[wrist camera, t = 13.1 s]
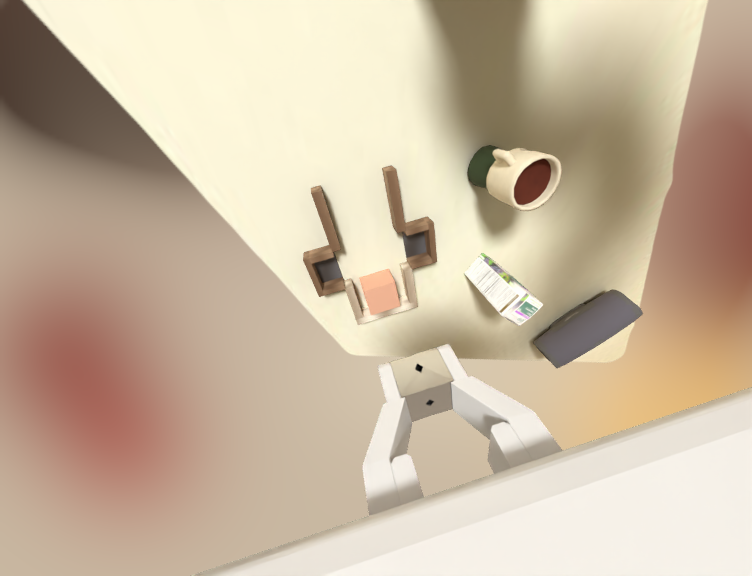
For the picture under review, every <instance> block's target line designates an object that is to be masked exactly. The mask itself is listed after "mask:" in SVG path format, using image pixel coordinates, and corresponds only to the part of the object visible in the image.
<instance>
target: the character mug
mask: <svg viewBox="0 0 752 576" xmlns="http://www.w3.org/2000/svg"><path fill="white" fill-rule="evenodd" d="M561 174H562V167H561V163H560V161H559V160H558V158H556V157H554V156H553V155H550V154H545V153H542V152H538V151H528V150H526V149H523V148H515V149H513V150H510V151H505V150H503V149H500V148H498V147H495V146H491V145H489V146H485V147H482V148H481V149H480V150H479V151H478V152H477V153H476V154H475V155H474V157H473V158H472V160H471V162H470V164H469V168H468V176H469V180H470V181H471V182H472V183H473V184H474V185H476V186H480V187H484V188H487V189H488V192H489V194H490V195H492V196H493V197H495V198H496V199H498V200H500V201H502V202H504V203H506V204H508V205H510V206H512V207H514V208H516V209H518V210H520V211H531V210H534V209H536V208H539V207H540V206H542V205H544V203H546V202H547V201H548V200H549V199H550V197H551V196H552V195H553V194H554V192H555V191H556V189H557V187H558V185H559V182H560V179H561Z"/></svg>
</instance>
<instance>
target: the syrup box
mask: <svg viewBox="0 0 752 576" xmlns="http://www.w3.org/2000/svg"><path fill="white" fill-rule="evenodd" d="M464 274H465V275H466V276H467V277H468V278H469V280H470V281H471V282H472V283H473V284H474V285H475V286H476V288H477V289H478V290H479V291H480V292H481V293H482V294H483V295H484V297H485V298H486V299H487V300H488V301H489V302H490V303H491V305H492V306H493V307H494V308H495V309H496V310H497V311H498V312H499V313H500V314H501V316H503V317H505V318H506V319H508V320H509V321H511V322H513V323H515V324H517V325H518V326H520V325H521V324H523V323H524V322H526V321H527V320H528V319H529V318H531V317H532V316H533V315H534V314H535V313H536V312H537V311H538V310H539V309H540V308H541V307H542V306H543V303H542V302H540V301H539V300H538V299H537V298H536V297H535V296H534V295H532V294H531V293H530V292H529V291H528V290H527V289H526V288H525V287H524V286H523V285H521V284H520V283H519V282H518V281H517V280H516V279H515V278H514V277H513V276H511V275H510V274H509V273H508V272H507V271H506V270H504V269H503V268H502V267H501V266H500V265H499V264H497V263H496V262H495V261H494V260H492V259H491V258H489V257H488V256H486V255H485V254H483V253H481V254H480V256H479V257H478V258H477V259H476V260H475V261H474V262H473V264H472V265H471V266H470V267H469V268H468V269H467V271H466V272H465V273H464Z"/></svg>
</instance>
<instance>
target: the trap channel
mask: <svg viewBox="0 0 752 576" xmlns="http://www.w3.org/2000/svg"><path fill="white" fill-rule="evenodd" d="M382 170H383V175H384V181H385V186H386V192H387V197H388V202H389V208H390V213H391V219H392V224H393V227H394V229H395V230H396V232H397V233H400V232H402V233H403V239H404V245H405V252H406V258H407V262H405V263H401V264H400V267H401V272H402V278H403V283H404V289H405V294H406V295H404V296H401V297H398V298H399V302H400V306H399V307H396V308H393V309H390V310H387V311H384V312H381V313H377V314H374V315H371V314H370V311H369V307H364V308H361V307H360V304H359V301H358V298H357V295H356V292H355V289H354V286H353V283H352V280H351V279H347V280H343V277H342V274H341V272H340V269H339V266H338V263H337V260H336V257H335V255H334V251H338V250H341V248H340V244H339V240H338V237H337V234H336V231H335V228H334V225H333V222H332V219H331V216H330V213H329V210H328V207H327V204H326V201H325V198H324V194H323V191H322V188H321V185H320V186H316V187H313V188H311V194H312V197H313V200H314V202H315V205H316V208H317V211H318V214H319V216H320V219H321V222H322V225H323V228H324V231H325V233H326V236H327V239H328V242H329V245H328V246H324V247H321V248H318V249H314V250H311V251H307V252H304V257H303V261H304V263H305V265H306V268H307V270H308V272H309V275H310V277H311V279H312V281H313V284H314V286H315V288H316V291H317V293H318V295H319V297H321V296H324V295H328V294H331V293H334V292H338V291H341V290H344V289H345V290H346V293H347V295H348V298H349V301H350V304H351V307H352V309H353V312H354V315H355V318H356V321H357V324H358V325H359V324H363V323H366V322H369V321H373V320H376V319H379V318H382V317H386V316H389V315H392V314H396V313H399V312H402V311H405V310H409V309H412V308H415V307H418V305H417V299H416V292H415V286H414V279H413V273H412V269H415V268H418V267H421V266H425V265H428V264H432V263H435V262H437V254H436V243H435V231H434V222H433V221H432V220H431V219H429V218H428V217H424V218H421V219H417V220H414V221H411V222H407V223H405V222H404V215H403V209H402V203H401V196H400V190H399V183H398V177H397V171H396V169H395V168H394V167H393V166H388V167H384V168H382Z"/></svg>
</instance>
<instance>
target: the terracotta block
mask: <svg viewBox="0 0 752 576" xmlns="http://www.w3.org/2000/svg"><path fill="white" fill-rule="evenodd" d="M360 282H361V285H362V289H363V292H364V295H365V298H366V301H367V304H368V307H369V311H370V314H371V315H374V314H377V313H381V312H384V311H387V310H390V309H393V308H396V307H399V306H400V302H399V298H398V294H397V289H396V285H395V281H394V279H393V277H392V275H391V273H390V271H389V269H386V270H383V271H379V272H376V273H373V274H370V275H367V276H363V277H360Z"/></svg>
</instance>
